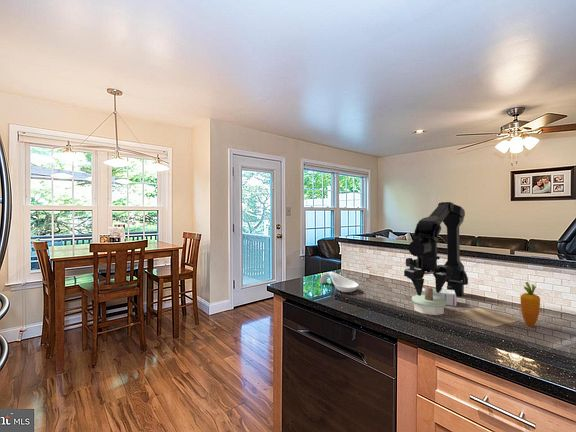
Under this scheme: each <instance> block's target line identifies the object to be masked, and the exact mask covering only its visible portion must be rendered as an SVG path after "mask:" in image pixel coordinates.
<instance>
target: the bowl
mask: <svg viewBox="0 0 576 432" xmlns="http://www.w3.org/2000/svg"><path fill="white" fill-rule="evenodd" d="M413 308H414V309H413V310H414V311H416V312H418V313H420V314H424V315H433V316H437V315H443V314H445V306H444V307H426V306H421V305H418V304H415V303H414V302H413Z"/></svg>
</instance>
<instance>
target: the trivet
mask: <svg viewBox="0 0 576 432" xmlns="http://www.w3.org/2000/svg"><path fill="white" fill-rule="evenodd" d="M454 314H457V315H459V316H462V317H464V318H466V319H467V318H468V319H470V320H472V321H475V322H477V323H480V324H483V325H485V326H489V327H491V328H495V327H499V326H503V325H507V324H512V323H516V322H520V321H521V319H518V318H515V317H512V316H509V315H505V314H502V313H499V312H496V311H493V310H491V309H487V308H484V307H481V306H480V307H475V308H470V309H467V310H460V311H455V312H454Z"/></svg>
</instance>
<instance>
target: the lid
mask: <svg viewBox="0 0 576 432" xmlns="http://www.w3.org/2000/svg"><path fill="white" fill-rule="evenodd" d="M424 288H425V295H421V296H419V295H416V294H415V295H414V294H413V296H411V302H413V304H414V303H415V304H418V305H421V306H426V307H444V308H445V307H446V306H448V305H447V301H446V300H445V299H444V298H441V297H438V296H433V289H432V288H433V287H432V288H431V287H424Z"/></svg>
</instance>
